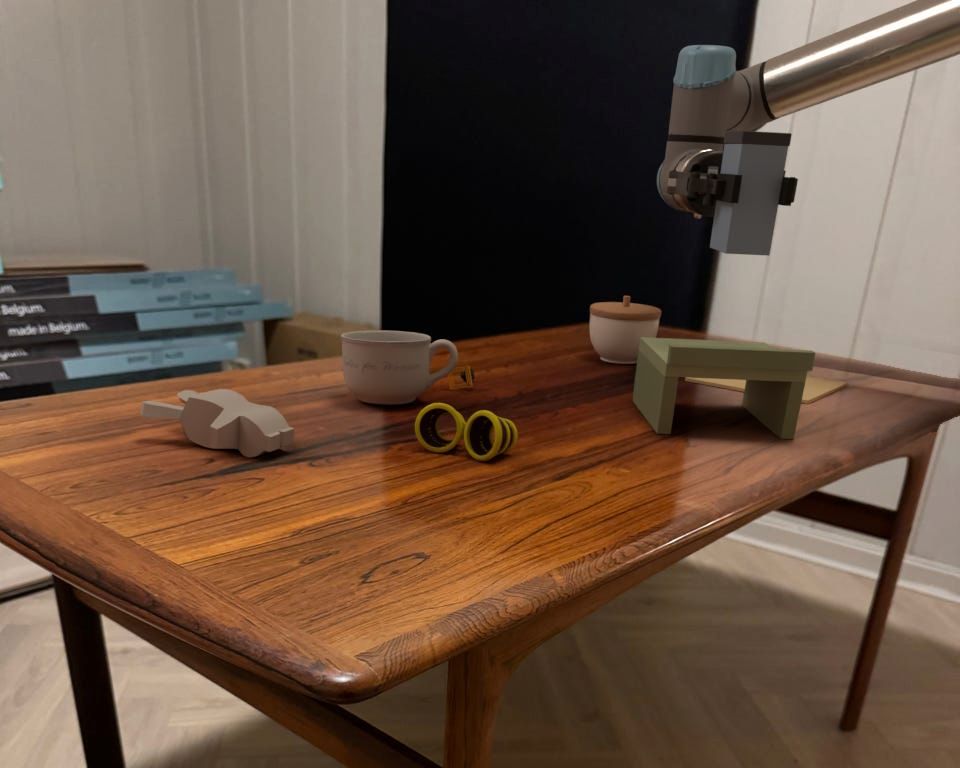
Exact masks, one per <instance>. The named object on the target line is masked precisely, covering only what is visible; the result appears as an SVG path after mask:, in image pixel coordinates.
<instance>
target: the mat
mask: <svg viewBox="0 0 960 768" xmlns="http://www.w3.org/2000/svg"><path fill="white" fill-rule="evenodd" d="M684 378H685V379H684V381H685V382H688V383H694V384H700V385H704V386H708V387H709V386H710V387H715V388H719V389H725V390H730V391H735V392H736V391H737V392H741V393H742V392H743V393H744V390H745V384H746V380H736V379H713V378H689V377H684ZM847 386H848V382H845V381H839V380H833V379H828V378H821V377H815V376H811V375H807V377H806V382H805V387H804V391H803V396H802V401H801V404H804V405H805V404H806V405H809V404H811V403H813V402H815V401H817V400H819V399H820V400H821V399H822V398H824V397H826V396H829V395H830V394H832V393H835V392H837V391H839V390H841V389H844V388H846V387H847Z"/></svg>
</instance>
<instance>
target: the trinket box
mask: <svg viewBox="0 0 960 768" xmlns="http://www.w3.org/2000/svg"><path fill="white" fill-rule="evenodd" d="M661 316H662V310H661V308H658V307H656V306H653V305H648V304H642V303H633V302H631V296H630V295H623V301H622V302H621V301H619V302H618V301H604V302H602V301H601V302H594V303H592V304H590V306H589V326H588V327H589V329H588V330H589V336H590V337H589V339H590V342H591V345H592V347H593V349H594V351H595V352H596V353H597V355H598V356H599V359H600V360H601V361H603V362H607V363H613V364H621V365H632V364H637V359H638V351H639V342H640V337H649V338H657V335H658V331H659V327H660V319H661Z"/></svg>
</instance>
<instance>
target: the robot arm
mask: <svg viewBox="0 0 960 768" xmlns="http://www.w3.org/2000/svg"><path fill="white" fill-rule="evenodd" d="M959 55H960V0H914V1H911V2H909V3H905V4H903V5H902V6H899V7H897V8H894V9H892V10H888V11H887V12H883V13H882V14H879V15H877V16H874V17H872V18H869V19H866V20H864V21H862V22H859V23H856V24H854V25H851V26H849V27H846V28H844V29H842V30H839V31H837V32H834V33H831V34H828V35H827V36H824V37H822V38H819V39H817V40H814V41H812V42H809V43H806V44H803V45H801V46H799V47H796V48H794V49H791V50H789V51H787V52H784V53H781V54H778V55H776V56H774V57H771V58H769V59H767V60H765V61H762V62H759V63H757V64H754V65H751V66H748V67H747V68H744V69H741V70H737V67H736V64H737V63H736V62H737V53H736V50H735V49H734V48H732V47H730V46H726V45H714V44H694V45H693V44H692V45H687V46H685V47H683V48H682V49H680V52H679V53H678V56H677V64H676V68H675V74H674V76H673V79H672V80H673V81H672V83H673V89H672V98H671V107H670V115H669V127H668V133H667V134H668V135H667V141H666V147H665V156H664V160H663V161H662V163H660V164H661V165H660V166H659V168H658V171H657V174H656V186H657V191H658V193H659V195H660V198H662V200H663V201H664V203H666V204H667V205H668V206H669V207H671V208H672V209H673V208H674V209H675V210H676V211H681V212H686V213H687V212H688V213H693V217H694V218H695V220H699V219H701V218H702V216H703V217H708V218H714V214H715V208H716V201H717V200H718V201H723V202H728V203H738V200H739V194H740V187H741V181H742V175H735V174H723V173H721V166H722V159H723V152H724V146H725V144H724V138H725V132H732V131H757V132H759V130H761V129H762V128H764V127H765V126H766V125H767V124H768V123H771V122H773V121H776V120H778V119H781V118H783V117H784V118H785V117H786V116H789V115H792V114H794V113H797V112H800V111H803V110H806V109H809V108H812V107H815V106H817V105H820V104H823V103H826V102H828V101H832V100H834V99H837V98H840V97H843V96H845V95H849V94H851V93H855V92H857V91H859V90H862V89H866V88H869V87H871V86H874V85H877V84H880V83H883V82H887V81H888V80H891V79H894V78H897V77H899V76H902V75H905V74H908V73H911V72H914V71H916V70H920V69H922V68H925V67H929V66H931V65H934V64H936V63H940V62H943V61H944V60H948V59H951V58H953V57H956V56H959ZM798 182H799V178H797V177H795V176H786V170H784V174H783V180H782V186H781V192H780V197H779V203H778V206H785V207H791V206H792V204H793V203H795V199H796V193H797V188H798Z"/></svg>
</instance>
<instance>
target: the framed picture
mask: <svg viewBox="0 0 960 768" xmlns="http://www.w3.org/2000/svg"><path fill="white" fill-rule="evenodd" d="M454 372H455V373H458V372H460V374H459V376H460V377H459V378H460V379H462V381H463V382H464V383H463V384H462V383H458V384H456V385H455V382H454V376H453V373H454ZM475 378H476V376H475V373H474V370H473V369H472V368H471V367H470V365H466V366H460V367H459V366H458V367H455V368H454V369H453V370H452V371H451V372H450V373H449V374H448V375H447V381H448V387H449V390H458V389H464V388H473V387H474V383H477V382H478V380H475Z"/></svg>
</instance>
